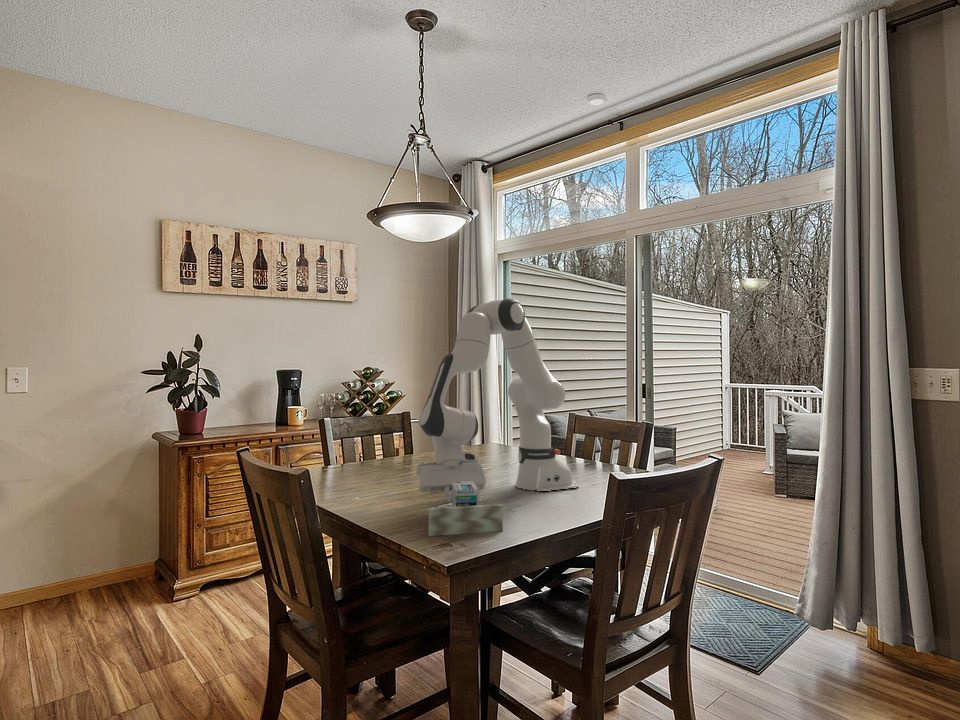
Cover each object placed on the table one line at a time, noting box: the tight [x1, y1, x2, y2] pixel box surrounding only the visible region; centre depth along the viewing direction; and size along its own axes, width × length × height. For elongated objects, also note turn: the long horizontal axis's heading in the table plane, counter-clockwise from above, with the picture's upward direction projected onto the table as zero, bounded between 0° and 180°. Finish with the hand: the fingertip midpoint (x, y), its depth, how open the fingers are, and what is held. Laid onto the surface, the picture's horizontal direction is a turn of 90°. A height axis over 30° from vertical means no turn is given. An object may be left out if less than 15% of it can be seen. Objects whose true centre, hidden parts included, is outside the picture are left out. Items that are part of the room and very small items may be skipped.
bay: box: [428, 503, 504, 537], centre depth 162 cm, size 20×14×7 cm
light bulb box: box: [451, 481, 480, 507], centre depth 164 cm, size 11×7×11 cm, turn 9°
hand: (454, 501), depth 170 cm, fingers closed
